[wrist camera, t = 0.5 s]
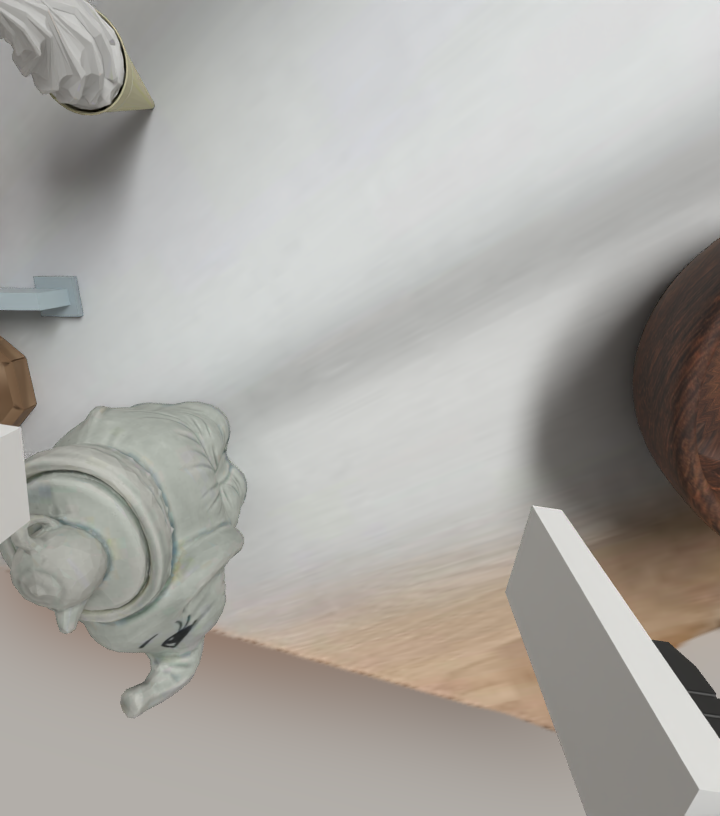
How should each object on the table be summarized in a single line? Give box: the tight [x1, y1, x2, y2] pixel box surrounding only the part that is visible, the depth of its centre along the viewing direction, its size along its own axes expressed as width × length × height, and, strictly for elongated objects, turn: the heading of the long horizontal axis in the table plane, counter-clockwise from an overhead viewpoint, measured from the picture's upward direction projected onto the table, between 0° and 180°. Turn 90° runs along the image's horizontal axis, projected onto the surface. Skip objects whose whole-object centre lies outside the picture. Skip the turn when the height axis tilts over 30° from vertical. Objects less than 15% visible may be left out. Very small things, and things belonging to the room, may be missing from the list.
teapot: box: [0, 402, 247, 718], centre depth 33 cm, size 16×15×19 cm
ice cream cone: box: [0, 0, 154, 115], centre depth 25 cm, size 5×5×15 cm
